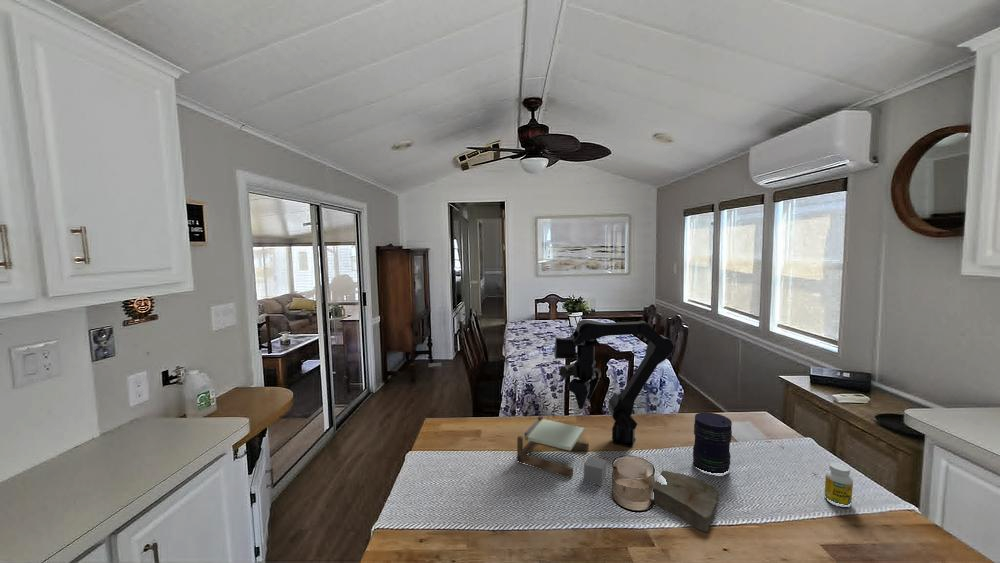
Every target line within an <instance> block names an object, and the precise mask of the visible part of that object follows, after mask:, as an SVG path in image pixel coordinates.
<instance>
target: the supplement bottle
mask: <svg viewBox="0 0 1000 563" xmlns="http://www.w3.org/2000/svg"><path fill="white" fill-rule="evenodd" d="M850 475H851V469H850V467H849V466H847V465H845V464H841V463H838V462H830V464H829V470H827V471H826V472H825V480H824V481H825V482H824V495H825V496H826V498H828V499H829V500H831V501H833V502H835V503H839V504H844V505H848V504H850V503H851V504H852V498H853V486H854V479H853V478H852V477H851V476H850Z"/></svg>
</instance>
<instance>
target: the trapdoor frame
mask: <svg viewBox="0 0 1000 563" xmlns="http://www.w3.org/2000/svg"><path fill="white" fill-rule="evenodd" d="M542 419H544V418H543V416H542V415H538V417H537V420H539V421H541V420H542ZM523 440H524V439H523V436H522V435H518V436H517V442H516V443H517V444H516V445H517V446H516V447H517V451H516V452H517V454H516V455H517V456H516V457H517V460H516V461H519V462H521V463H525V464H528V465H531V466H534V467H533V468H535V467H538V468H537V469H539V468H541V469H540V470H542V469H544V470H543V471H546V470H547V471H546V472H549V471H551V472H550V473H553V472H554V473H553V474H556V473H558V474H557V475H560V474H561V476H563V475H564V477H567V476H569V477H568V478H571V477H572V478H573V476H574V467H573V466H569V465H565V464H563V463H558V462H554V461H550V460H547V459H543V458H539V457H536V456H532V455H530V454H531V453H532V452H533V450H535V448H536V447H538V445H539V444H540V443H537V442H533V441H528V443H527V444H526V445H525V446H524V445H523V444H524V443H523V442H524V441H523ZM523 446H524V447H523ZM589 446H590V445H589V442H587V441H582V440H579V439H578V441H577V442H576V444H575V445H574V447H573V448H572V449H574V450H578V451H583V452H585V453H587V452H589V450H590V448H589ZM531 451H532V452H531ZM530 452H531V453H530ZM528 453H530V454H529V455H527V454H528ZM521 463H520V464H521ZM528 465H527V466H528ZM531 466H530V467H531Z"/></svg>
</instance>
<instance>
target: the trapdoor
mask: <svg viewBox="0 0 1000 563" xmlns="http://www.w3.org/2000/svg"><path fill="white" fill-rule="evenodd" d="M584 433H585V427H583V426H582V427H581V426H576V425H573V424H567V423H564V422H558V421H555V420H549V419H546V418H543V419H542V420H541V421H539V420H538V419H537V420H535V422H533V424H531V426H530V427H529V428H528V429H526V431H525V432H524V440H525V441H528V442H530V441H533V442H537V443H539V444H543V445H545V446H549V447H553V448H557V449H561V450H566V451H572V450H573V449H574V448H573V447H574V445H575V444H576V442H577V441H578V440H579V439H580V438H581V437H582V435H583V434H584Z"/></svg>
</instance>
